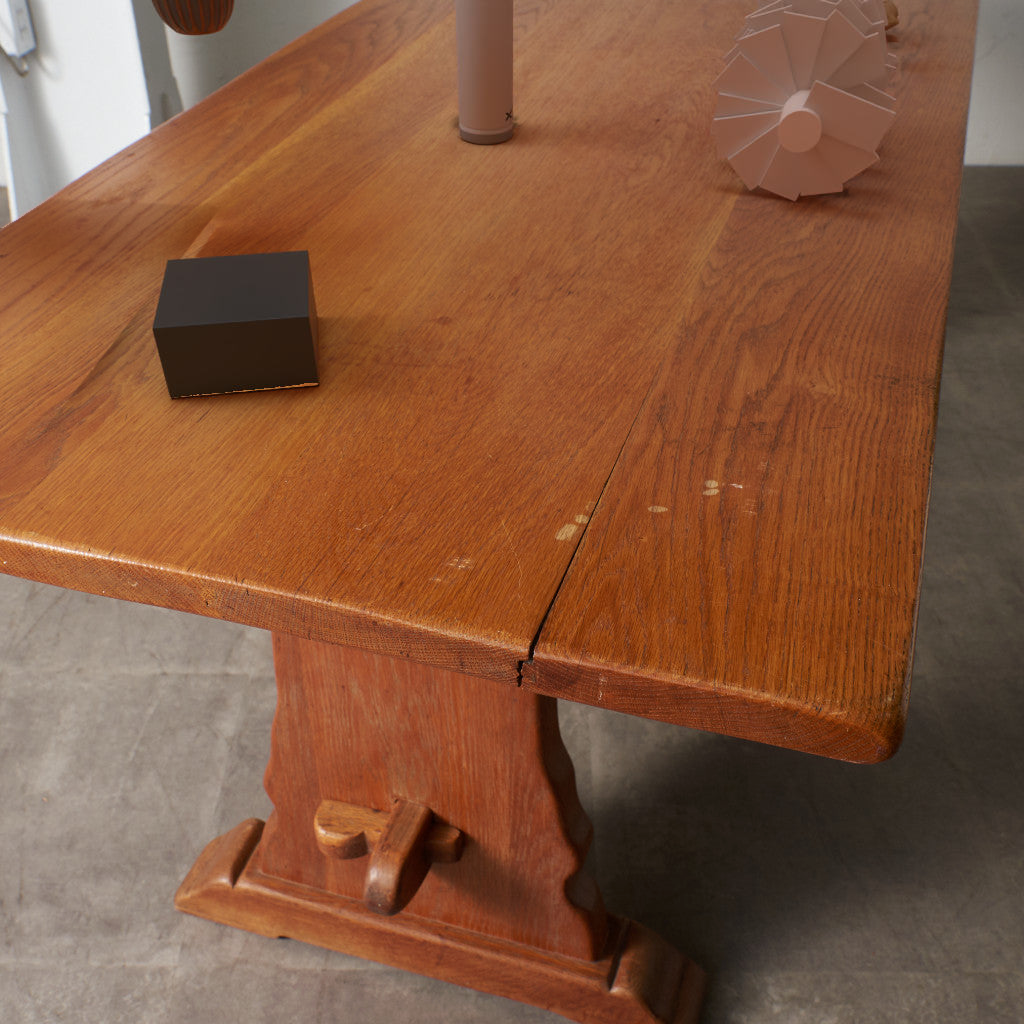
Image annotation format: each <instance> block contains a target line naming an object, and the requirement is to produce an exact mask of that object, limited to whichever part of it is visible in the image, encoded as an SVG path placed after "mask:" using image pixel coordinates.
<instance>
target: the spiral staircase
mask: <svg viewBox="0 0 1024 1024" xmlns="http://www.w3.org/2000/svg"><path fill="white" fill-rule="evenodd" d="M755 1H756V4H757V7H758V8H757V9H756V10H755V11H754V12H753V13H751V14H750V13H749V14H748V15H746V16H744V21H745V24H743V26H742V27H741V28H740V29H739V30H738V32H737V33H736V35H734V37H733V41H735V42H736V44H735V45H734V47H732V48H731V50H729V52H727V53H726V54H725V55H724V56H723V57H722V59H721V61H722V62H723V63H724V64H725V65H726V67H725V68H724V69H723V71H721V73H720V74H719V75H718V76H717V78H716V79H715V80H713V82H712V83H711V87H712V88H713V89H714V90H716V92H717V93H718V95H717V100H716V103H715V106H714V107H715V109H714V112H713V117H712V121H711V125H710V130H709V135H712V136H713V135H714V138H715V149H716V157H717V158H716V159H717V160H724V159H726V161H727V162H728V164H729V165H730V167H731V168H732V169H733V170H734V171H735V173H736V174H737V176H738V177H739V178H740V179H741V181H742V182H743V183H744V185H745V186H746V187H747V189H748V190H749V191H752V190H754V189H756V188H757V187H759V188H760V189H764V190H766V191H768V192H771V193H773V194H775V195H778V196H780V197H783V198H785V199H788V200H790V201H793V202H796V201H797V199H798V198H799V195H800V197H805V196H812V195H814V196H815V195H823V194H833V193H841V192H843V191H844V189H843V187H844V186H843V184H844V183H846V182H847V181H849V180H850V179H852V178H854V177H855V176H857V175H858V174H860V173H861V172H862V171H864V170H866V169H867V168H869V167H871V166H872V165H873V164H875V163H876V162H878V161H880V157H879V155H878V153H877V152H876V150H877V148H878V146H879V144H880V143H881V141H882V139H883V138H884V137H885V134H886V132H887V131H888V129H889V127H890V126H891V124H892V122H893V121H894V118H895V117H896V116H897V112H895V111H893V110H891V109H892V107H894V104H896V101H897V98H896V97H893V96H892V95H890V94H888V93H886V92H887V89H888V88H889V85H890V82H891V80H892V78H893V76H894V73H895V71H896V69H897V66H894V63H895V62H896V60H897V57H898V56H897V55H895V54H893V53H890V52H889V51H888V42H887V36H886V35H887V34H886V31H885V26H887V25H888V20H887V16H886V12H885V8H884V3H883V1H884V0H755Z"/></svg>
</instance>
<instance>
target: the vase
mask: <svg viewBox="0 0 1024 1024" xmlns="http://www.w3.org/2000/svg"><path fill="white" fill-rule="evenodd" d="M150 1H151V3H152V6H153V8H154V10H155V12H156V13H157V14H158V16H159V18H160V19H161V21H163V22H164V24H165V25H166V26H167V27H169V29H171V30H172V31H173V32H175V33H176V34H179V35H184V36H207V35H212V34H216V33H219V32H220V31H222V30H224V28H225V27H226V26H227V24H228V23H229V21H230V19H231V17H232V15H233V12H234V8H235V0H150Z"/></svg>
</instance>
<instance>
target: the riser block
mask: <svg viewBox="0 0 1024 1024" xmlns="http://www.w3.org/2000/svg"><path fill="white" fill-rule="evenodd" d="M152 323H153V324H152V328H151V330H152V334H153V337H154V341H155V346H156V349H157V352H158V358H159V361H160V364H161V368H162V372H163V376H164V380H165V384H166V387H167V392H168V396H169V398H170V397H171V398H174V397H181V396H190V395H192V396H193V395H197V394H199V395H202V394H212V393H225V392H233V391H243V390H255V389H264V388H275V387H279V386H280V387H285V386H292V385H300V384H304V383H318V382H319V383H320V370H318V369H320V368H318V361H319V333H318V332H319V331H318V328H319V327H318V326H319V325H318V312H317V305H316V295H315V290H314V282H313V276H312V267H311V261H310V254H309V250H307V249H305V250H304V249H303V250H291V251H276V252H261V253H260V252H259V253H245V254H233V255H219V256H218V255H216V256H205V257H204V256H203V257H190V258H188V257H187V258H175V259H167V261H166V265H165V270H164V274H163V280H162V283H161V287H160V292H159V296H158V301H157V305H156V310H155V315H154V317H153V322H152ZM317 325H318V326H317ZM171 398H170V399H171Z"/></svg>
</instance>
